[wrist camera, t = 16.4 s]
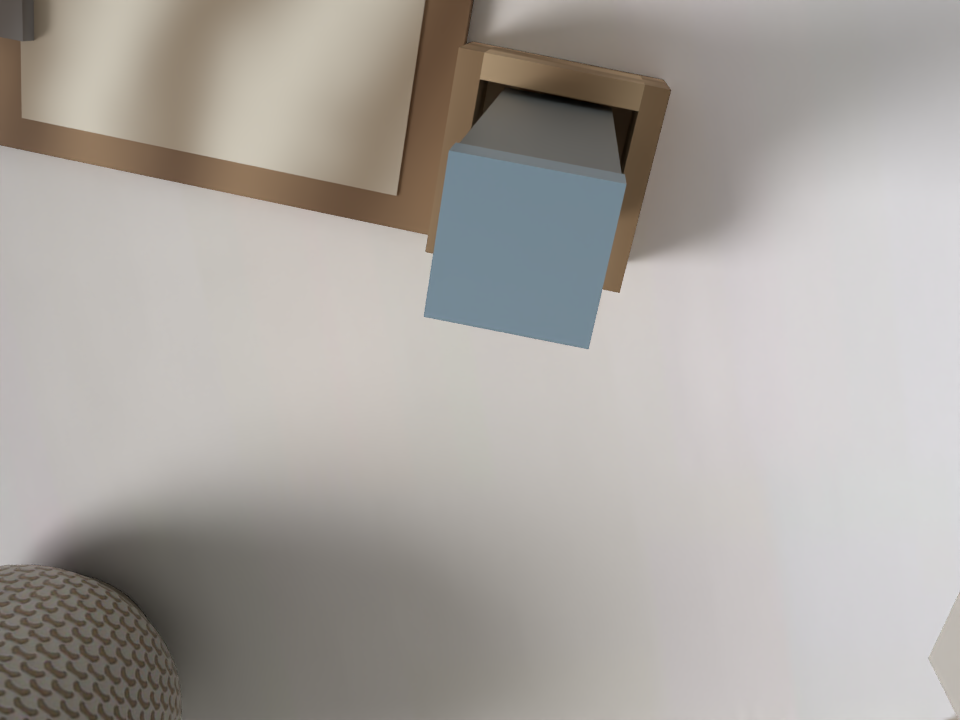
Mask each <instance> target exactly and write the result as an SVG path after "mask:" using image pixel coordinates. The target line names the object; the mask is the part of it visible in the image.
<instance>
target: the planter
mask: <svg viewBox="0 0 960 720" xmlns="http://www.w3.org/2000/svg"><path fill="white" fill-rule="evenodd" d="M181 712H182V701H181V687H180V682H179V678H178V674H177V671H176V667H175V664H174V662H173V660H172V657H171V655H170V653H169V651H168V648H167V646H166V645H165V643H164V641H163V640H162V638H161V637H160V635H159V634H158V632H157V630H156V629H155V628H154V627H153V626H152V625H151V623H150V622H149V621H148V619H147V618H146V616H145V615H144V613H143V612H142V611H141V609H140V608H139V607H138V606H137V605H136V604H135V603H134V602H133V601H132V600H131V599H130V598H129V597H128V596H127V595H125V594H124V593H122V592H121V591H120V590H118V589H117V588H115V587H113V586H111V585H109V584H107V583H105V582H103V581H100V580H98V579H95V578H91V577H87V576H83V575H80V574H77V573H75V572H71V571H67V570H63V569H60V568H56V567H49V566H41V565H4V566H0V720H181Z"/></svg>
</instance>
